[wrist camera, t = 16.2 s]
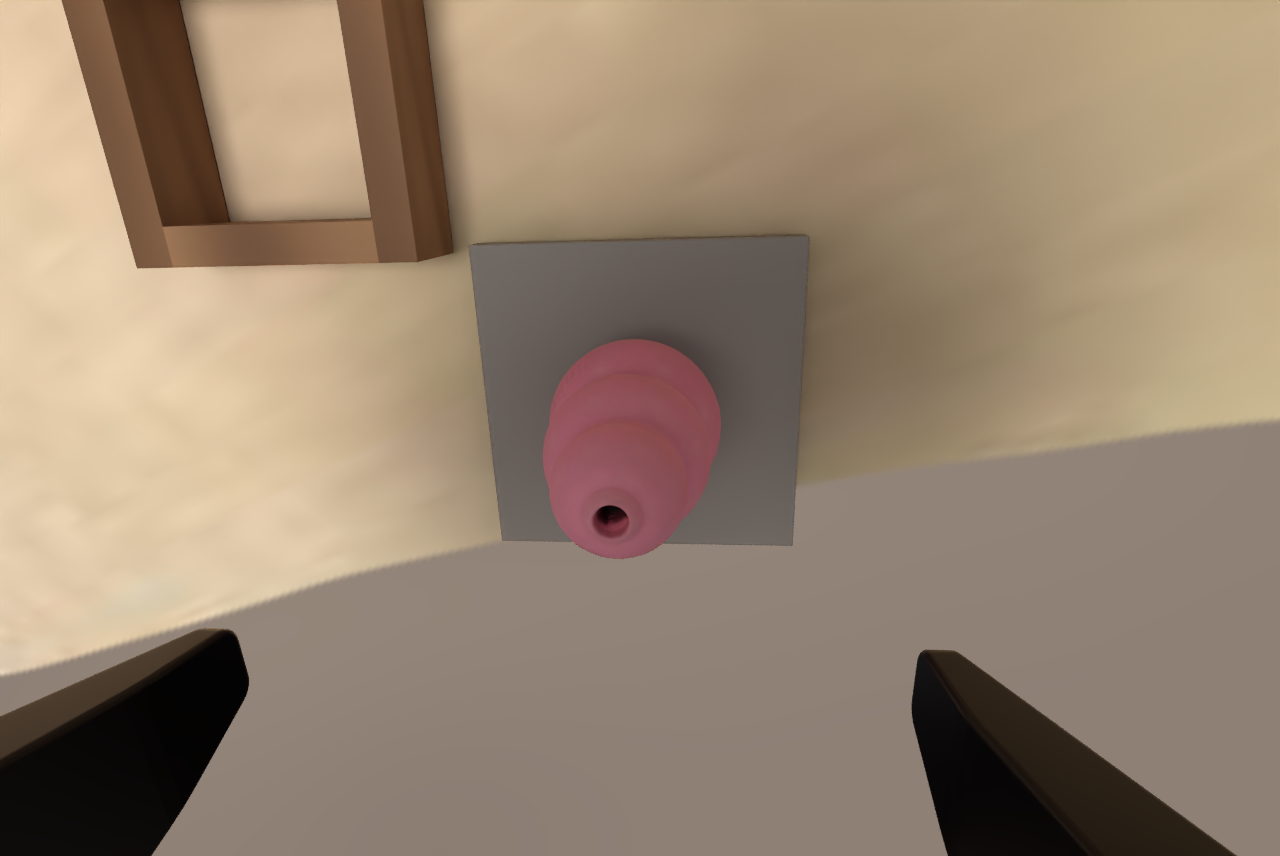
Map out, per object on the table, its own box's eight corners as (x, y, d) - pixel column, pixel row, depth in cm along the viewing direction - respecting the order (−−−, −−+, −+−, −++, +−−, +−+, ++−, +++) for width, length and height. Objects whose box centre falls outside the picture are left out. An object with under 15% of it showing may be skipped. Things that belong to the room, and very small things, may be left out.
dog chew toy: (717, 323, 18) (727, 403, 11) (720, 473, 19) (730, 624, 13) (556, 329, 18) (472, 410, 12) (571, 476, 20) (504, 623, 13)
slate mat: (804, 235, 18) (809, 236, 17) (789, 533, 21) (792, 545, 20) (477, 243, 18) (468, 245, 18) (509, 528, 21) (502, 540, 21)
